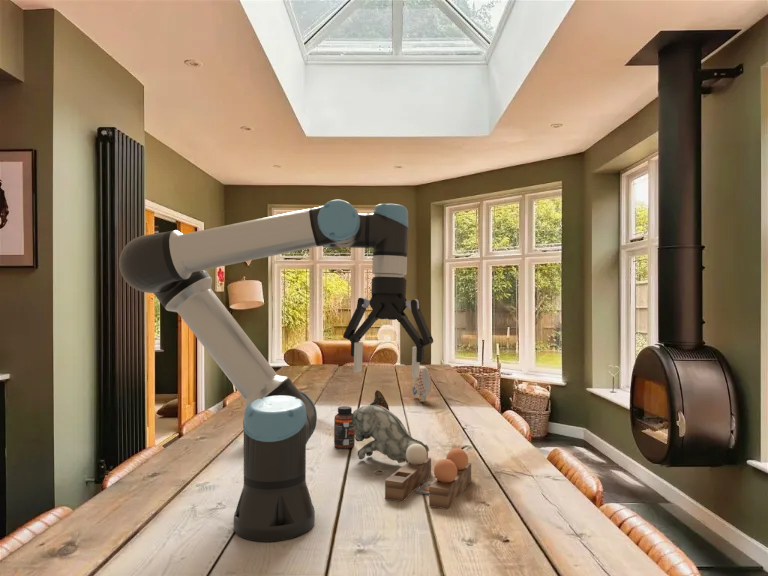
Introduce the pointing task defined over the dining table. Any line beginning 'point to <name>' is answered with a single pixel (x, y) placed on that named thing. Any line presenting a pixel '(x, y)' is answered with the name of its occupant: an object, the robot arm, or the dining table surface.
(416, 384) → the white patterned rounded slab
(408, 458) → the cream ball
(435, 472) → the rust ball
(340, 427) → the supplement bottle
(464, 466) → the rust ball
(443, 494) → the rack
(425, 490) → the card
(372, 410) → the figurine
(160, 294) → the robot arm
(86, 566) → the dining table surface
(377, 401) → the butterfly
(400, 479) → the rack
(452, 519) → the dining table surface
